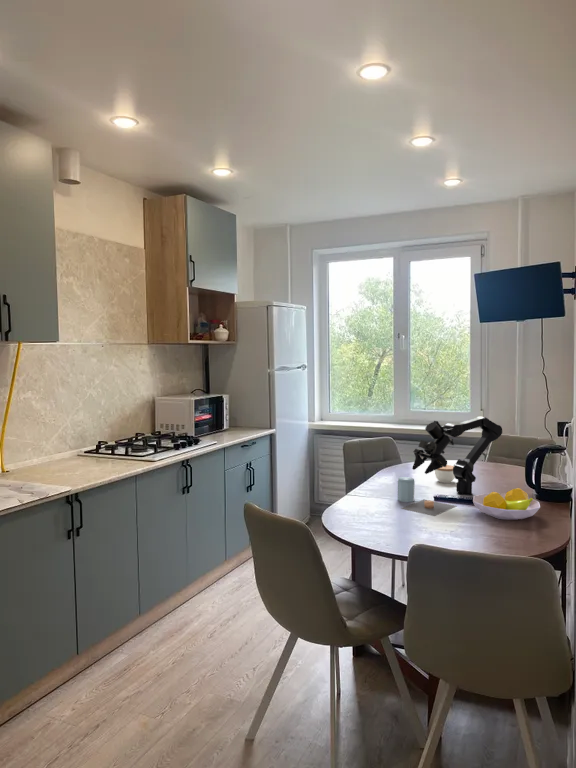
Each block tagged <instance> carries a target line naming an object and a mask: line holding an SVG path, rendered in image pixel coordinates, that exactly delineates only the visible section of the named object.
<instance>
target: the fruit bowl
mask: <svg viewBox="0 0 576 768" xmlns="http://www.w3.org/2000/svg"><path fill="white" fill-rule="evenodd" d="M472 502H473V505H474V506H475V508H476V509H477V510H479V511H480V512H481V513H483V514H486V515H488V516H491V517H493V518H496V519H498V520H518V519H521V520H524V519H526V518H530V517H533V516H534V515H535V514H536V513H538V511H539V510H540V508H541V505H540V502H539V501H538V500H536V499H533V498H532V497H530V498H529V495H528V493H527V492H526V491H524V490H523V489H521V488H520V487H517V488H512V489H511V490H508V491H507V492H506V493H500V492H497V491H492V492H490V493H489V492H488V493H487V492H486V493H482V494H481V493H480V494H477V495H473V498H472Z"/></svg>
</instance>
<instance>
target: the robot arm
mask: <svg viewBox="0 0 576 768" xmlns="http://www.w3.org/2000/svg"><path fill="white" fill-rule="evenodd" d="M477 428H480V429H481V437H480V438H479V440H478V441H477V442H475V444H474V446H473V447H472V448H471V450H470V451H469V453H468V454H467V456H466V457H465V458H464V459H460V458H459V459H457V460H456V462H455V464H453V466H454V467H453V474H454V476H455V478H454V480H457V482H456V486H455V489H456V493H457V495H467V496H473V483H474V482H475V481H476V479H477V477H476V475H474V474H473V473H474V467H475V464H476V463H477V461H478V460H479V459H480V457H482V455H483V453H484V452H485V451H486V450H487V448H488V446H489V445H490V444H491V443H493V442H494V441H496V440H498V439H499V438H500V437H501V436H502V435H503V428H502V426H501V425H499V424H497V423H496V422H493V421H492V420H490V419H489V418H488V417H486V416H477V417H475V418H471V419H468V420H464V421H461V422H449V423H446V424H444V425H441V423H439V421H438V420H433V421H432V422H430V423H428V424H427V425H426V426H425V428H424V430H425V431H426V433H428V436H430V437H431V439H433V440H434V441H432V440H430V441H426V440H422V439H420V441H419V444H418V447H419V448H415V449H414V450H413V453H414V458H415V459H414V462H413V465H412V468H411V469H412V470H413V471H415V470H417V469H418V468H419V467H420V466H422V465H423V464H425V461H427V459H428V460H431V461H430V463H429V464H428V466H427V467H426V469H425V470H424V474H425V475H427V474H429V473H432V472H435V470H436V469H439V468H442V467H445V466H446V465H448V460H447V459H446V458H445V457H444V456H443V455H444V454H445V449H446V448H447V447H448V446H449V445H450V446H454V438H458V437H460V436H461V435H463V433H465V432H467V431H470V430H473V429H477ZM450 437H451V438H450Z"/></svg>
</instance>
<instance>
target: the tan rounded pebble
mask: <svg viewBox="0 0 576 768" xmlns="http://www.w3.org/2000/svg"><path fill="white" fill-rule="evenodd" d="M425 500H426V501H424V507H425V508H428V509H432V508H434V502H435V501H434V500H429V499H425Z"/></svg>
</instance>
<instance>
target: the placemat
mask: <svg viewBox="0 0 576 768" xmlns="http://www.w3.org/2000/svg"><path fill="white" fill-rule="evenodd" d="M426 500H427V499H421V500H419V501H416V502H414V503H411V504H408V505H406V506H403V507H401V508H400V509H401V510H405V511H409V512H414V513H419V514H423V515H427V516H432V517H436V516H438V515H440V514H442V513H445V512H447V511H449V510H451V509H454V508H456V507H457V505H453V504H448V503H443V502H438V501H434V508H432V509H428V508H425V507H424V501H426Z"/></svg>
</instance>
